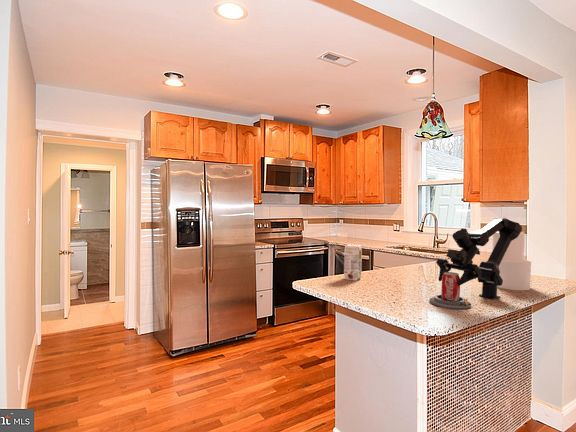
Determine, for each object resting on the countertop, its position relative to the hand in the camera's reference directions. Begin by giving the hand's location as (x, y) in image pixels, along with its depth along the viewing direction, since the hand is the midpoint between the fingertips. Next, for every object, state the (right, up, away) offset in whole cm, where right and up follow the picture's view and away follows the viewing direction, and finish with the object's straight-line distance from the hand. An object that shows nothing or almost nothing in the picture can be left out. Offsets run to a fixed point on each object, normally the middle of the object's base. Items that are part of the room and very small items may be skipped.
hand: (448, 282), depth 150 cm
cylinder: (+49, -9, +36) cm, 61 cm away
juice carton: (-32, -7, +48) cm, 58 cm away
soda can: (+1, -8, +1) cm, 8 cm away
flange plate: (+1, -9, +1) cm, 9 cm away
